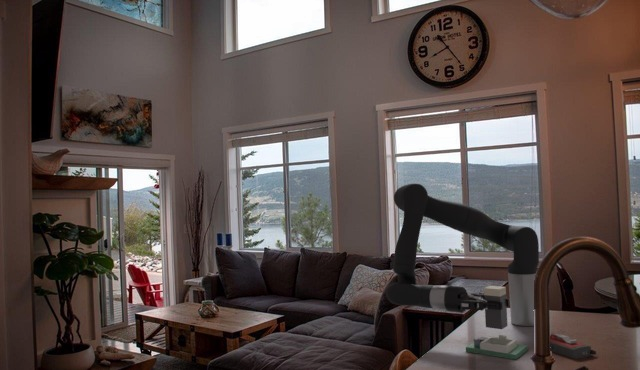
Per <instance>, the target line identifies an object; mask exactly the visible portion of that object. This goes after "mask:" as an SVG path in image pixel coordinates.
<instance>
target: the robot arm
mask: <svg viewBox="0 0 640 370" xmlns="http://www.w3.org/2000/svg"><path fill="white" fill-rule="evenodd" d="M393 200H394V201H393V202H394V204H395V205H396V207H397V208H398V209H399V210H401V211H402V212H403V219H402V220H403V221H402V225H401V229H400V233H399V236H398V237H397V241H396V245H395V250H394V258H393V265H392V270H393V272H394V273H395V275H397V282H392V283H391V284H389V285H388V286H387V287H386V289H385V295H386V298H387V300H388V301H389V302H390V303H391V304H393V305H396V306H408V307H409V306H412V307H413V306H414V307H415V306H416V307H421V308H427V309H434V310H438V311H445V312H450V313H451V312H453V313H460V314H462V313H464V312H465V311H468V310H470V311H485V310H487V309H488V308H489V309H496V310H502V309H503V303H502V302H500V301H490V300H489V301H488V300H485V299H484V293H482V292H479V293H477V292H471V293H470V294H469V293H468V292H467V289H466V288H465V287H464V286H453V285H443V284H441V285H440V284H439V285H436V284H435V285H433V284H417V280H416V278H417V277H416V273H415V272H416V271H415V270H416V262H417V255H418V254H417V252H418V251H417V250H418V245H419V238H420V234H421V233H420V232H421V228H422V225H423V224H422V223H423V220H424V219H423V218H427V219H430V220H433V221H435V222H437V223H438V224H440V225H443V226H446V227H448V228H450V229H453V230H455V231H457V232H461V233H463V234H466V235H469V236H472V237H475V238H479V239H483V240H487V241H490V242H491V243H494V244H496V245H498V246H499V247H502V248H504V249H505V250H508V251H509V252H513V260H512V262H510V263H509V264H508V265H507V273H508V274H507V276H508V277H507V278H508V279H507V280H508V291H509V294H508V295H509V298H507V297H506V306H507V308H508V307H510V312H509V313H510V323H511V324H512V325H516V326H522V327H523V326H524V327H533V326H534V311H533V310H534V280H535V275H536V271H537V270H538V266H539V262H540V259H539V258H540V255H539V253H540V250H539V249H540V248H539V238H538V235H537V232H536V231H535V230H534V228H533V227H529V226H525V225H523V226H522V225H510V224H507V223H502V222H499V221H497V220H494V219H493V218H491V217H489V216H488V215H487V214H486V213H484V212H483V211H481V210H479V209H477V208H475V207H472V206H470V205H468V204H465V203H462V202H458V201H457V202H456V201H452V200H447V199H441V198H435V197H432V196H431V195H428V191H427V189H426V187H425V186H423V185H422V184H421V183H418V182H416V183H413V182H412V183H408V184H405V185H401V186H400V187H399V188H397V189H396V190H395V192H394V194H393ZM537 272H538V271H537ZM534 327H535V326H534Z"/></svg>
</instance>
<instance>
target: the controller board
mask: <svg viewBox="0 0 640 370" xmlns="http://www.w3.org/2000/svg"><path fill="white" fill-rule="evenodd" d="M528 348H529V346H528V345H527V344H526V345H525V344H518V341H517V339H512V338H507V335H503V334H499V335H498V336H488V337H486V336H480V337H479V338H473V342H472V343H471V344H469V345H467V346H466V347H465V352H467V353H474V354H478V355H479V354H481V355H486V356H494V357H498V358H499V357H500V358H506V359H511V360H517V359H519V358H520V357H521V356H523V355H524V354H525V353H526V352H527V351H529V349H528Z"/></svg>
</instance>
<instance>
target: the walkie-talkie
mask: <svg viewBox="0 0 640 370" xmlns="http://www.w3.org/2000/svg"><path fill="white" fill-rule="evenodd" d="M549 336H550V347H551V348H550V351H549V352H552V353H555V354H558V355H562V356H564V357H567V358H570V359H575V360H578V359H583V358H589V357H592V355H597V351H596V350H593V349H592V347H591V346H590V345H588V344H584V343H582V342H578V340H577V339H571V337H569V336H568V335H565V334H562V333H561V334H560V333H554V334H553V333H552V334H551V335H549Z"/></svg>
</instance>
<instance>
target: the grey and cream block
mask: <svg viewBox="0 0 640 370" xmlns="http://www.w3.org/2000/svg"><path fill="white" fill-rule="evenodd" d="M483 292H484V299H485V300H488V301H489V300H490V301H500V302H502V303H503V309H502V310H496V309H489V308H488V309H487V310H485V309H484V314H485V317H484V318H485V328H490V329H495V330H496V329H497V330H504V329H505V328H507V327H508V307H507V306H506V298H507V287H506V286H499V285H487V286H486V287H484V288H483Z"/></svg>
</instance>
